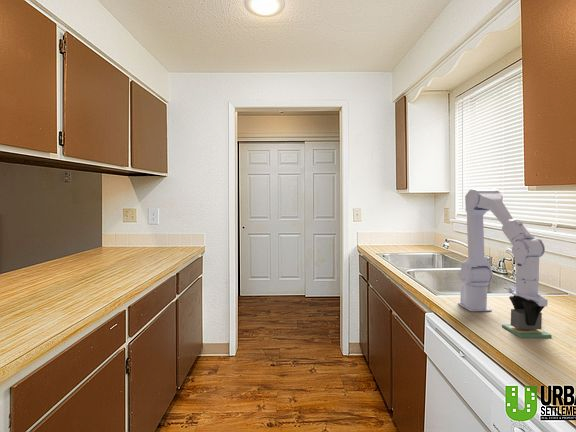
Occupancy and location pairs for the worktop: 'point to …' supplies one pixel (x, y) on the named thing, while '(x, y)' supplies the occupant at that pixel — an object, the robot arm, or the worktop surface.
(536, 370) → the worktop surface
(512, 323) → the block
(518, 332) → the board
